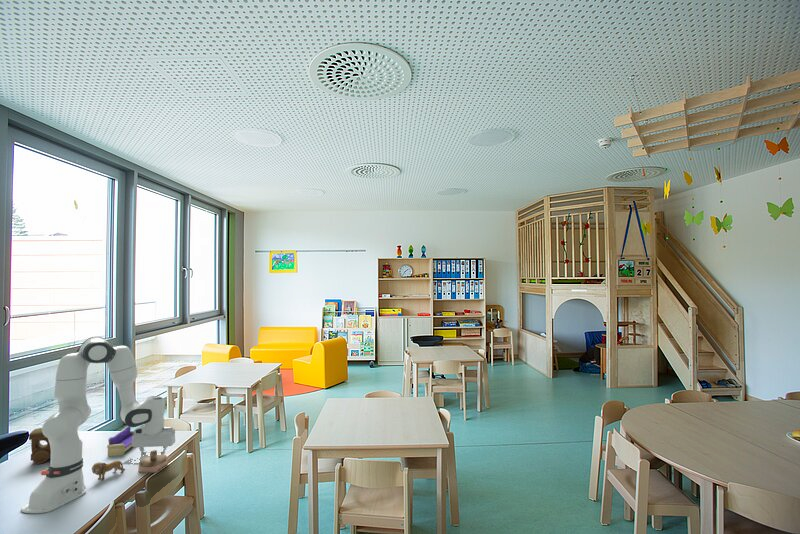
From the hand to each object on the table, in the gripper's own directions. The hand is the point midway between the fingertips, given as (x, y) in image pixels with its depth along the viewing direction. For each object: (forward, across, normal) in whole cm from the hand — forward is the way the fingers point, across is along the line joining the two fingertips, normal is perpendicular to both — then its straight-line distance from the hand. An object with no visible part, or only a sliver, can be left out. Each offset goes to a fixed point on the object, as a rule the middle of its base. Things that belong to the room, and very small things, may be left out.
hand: (153, 454), depth 200 cm
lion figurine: (+8, +18, +7) cm, 20 cm away
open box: (+7, 0, 0) cm, 7 cm away
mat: (+7, +11, -12) cm, 18 cm away
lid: (+4, 0, 0) cm, 4 cm away
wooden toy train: (+8, +60, -17) cm, 63 cm away
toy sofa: (+8, +29, -27) cm, 40 cm away
